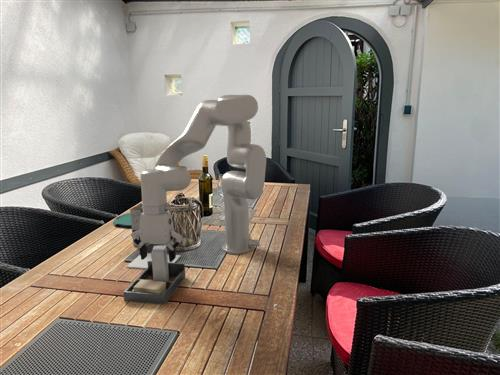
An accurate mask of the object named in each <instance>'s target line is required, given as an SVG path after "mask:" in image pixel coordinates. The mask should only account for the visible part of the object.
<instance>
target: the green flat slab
mask: <svg viewBox="0 0 500 375" xmlns="http://www.w3.org/2000/svg"><path fill="white" fill-rule="evenodd" d="M112 223H113V225H114V226H116V225H117V226H120V227H131V228H132V224H131V213H130V212H127V213H123V214H121V215H119V216H118V217H116V218H114V220H113V221H112Z"/></svg>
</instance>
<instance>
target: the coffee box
mask: <svg viewBox="0 0 500 375" xmlns="http://www.w3.org/2000/svg"><path fill="white" fill-rule="evenodd" d="M129 211H130V212H129V213H131V224H132V227H131V234H132V233H133V232H135V231H137V230H140V219H141V213H142V212H143V206H142V202H141V203H139V204H137V205H134V206H133V207H132V208H130V209H129ZM137 236H138V238H139V239H140V234H139V235H137ZM132 244H133V247H138V245H137V244H136V243H135V242H134V239H133V238H132ZM145 245H146V246H147V247H149V246H150V245H151V244H149V243H145Z"/></svg>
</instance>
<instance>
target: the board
mask: <svg viewBox="0 0 500 375" xmlns="http://www.w3.org/2000/svg"><path fill="white" fill-rule="evenodd" d="M167 258H168V262H169V263H175V262H176V263H177V262H178V260H179V259H180V258H181V254H180V255H179V254H176V258H175V259H174V260H173V261H172V262H170V261H169V253H167ZM148 261H152V258H151V252H147V257H146V258H145V259H143V260H141V256H140V254H139V255H138V256H137V257H135V258H134V259H133V260H132V261H131V262H130V263H129V264H128V265H126V268H127V269H137V270H138V269H139V270H146V269H147V268H148V263H147V262H148Z"/></svg>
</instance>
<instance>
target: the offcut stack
mask: <svg viewBox="0 0 500 375" xmlns="http://www.w3.org/2000/svg"><path fill="white" fill-rule="evenodd" d="M151 280H152V279H146V280H140V281H139V282H138V283H137V284H136V285H135V286H134V287H133V288H134V289H133V290H132V292H142V293H154V294H164V293H165V292H166V282H161V281H151Z"/></svg>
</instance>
